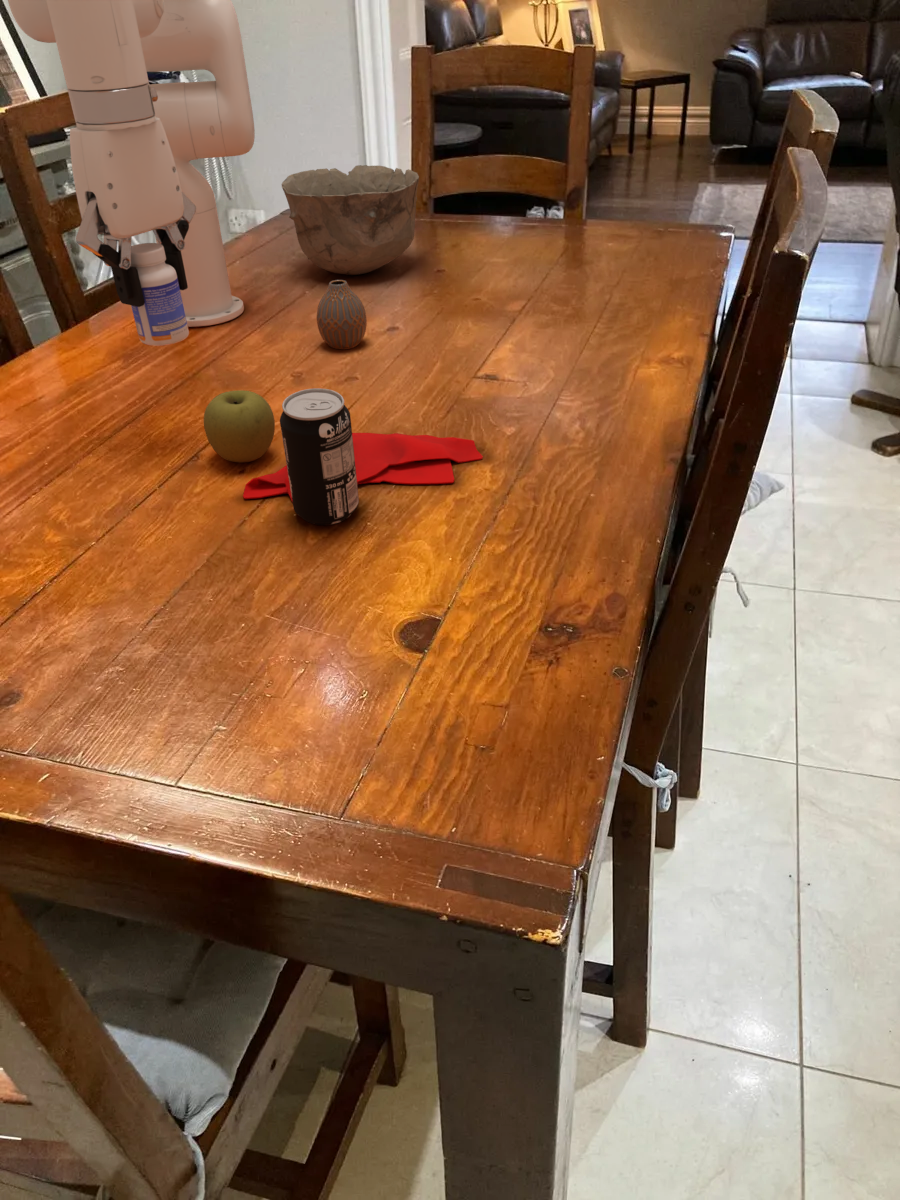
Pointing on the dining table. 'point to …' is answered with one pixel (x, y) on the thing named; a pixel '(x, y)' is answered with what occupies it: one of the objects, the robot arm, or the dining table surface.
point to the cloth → (387, 462)
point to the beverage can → (319, 455)
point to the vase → (341, 316)
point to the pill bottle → (158, 298)
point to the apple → (239, 425)
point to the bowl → (353, 216)
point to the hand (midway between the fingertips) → (154, 294)
